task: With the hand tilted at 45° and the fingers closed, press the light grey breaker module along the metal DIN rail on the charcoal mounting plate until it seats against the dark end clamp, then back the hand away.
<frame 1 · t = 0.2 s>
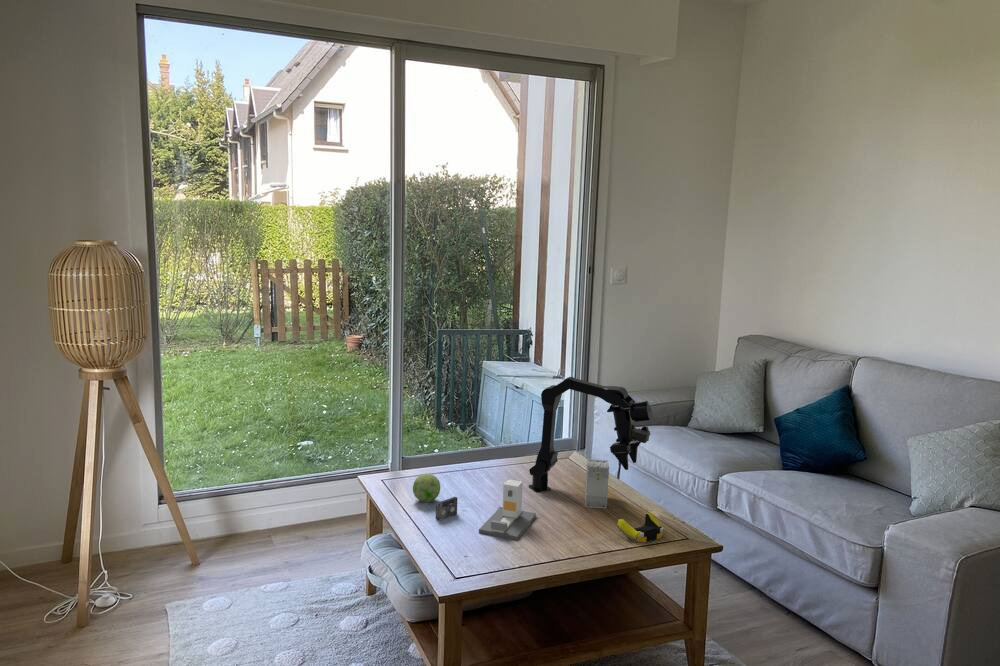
hand: (630, 466, 254), 15 cm above the table, tool pointing down, fingers open, 9 cm apart
mini dv tape: (446, 517, 243), on the table
din rail plate: (508, 524, 238), on the table
breaker module: (512, 499, 240), point 7 cm above the table, slide at 0.0 cm
gaming controller: (641, 536, 233), on the table
circuit breaker: (595, 500, 262), on the table
decorative ball: (426, 501, 256), on the table
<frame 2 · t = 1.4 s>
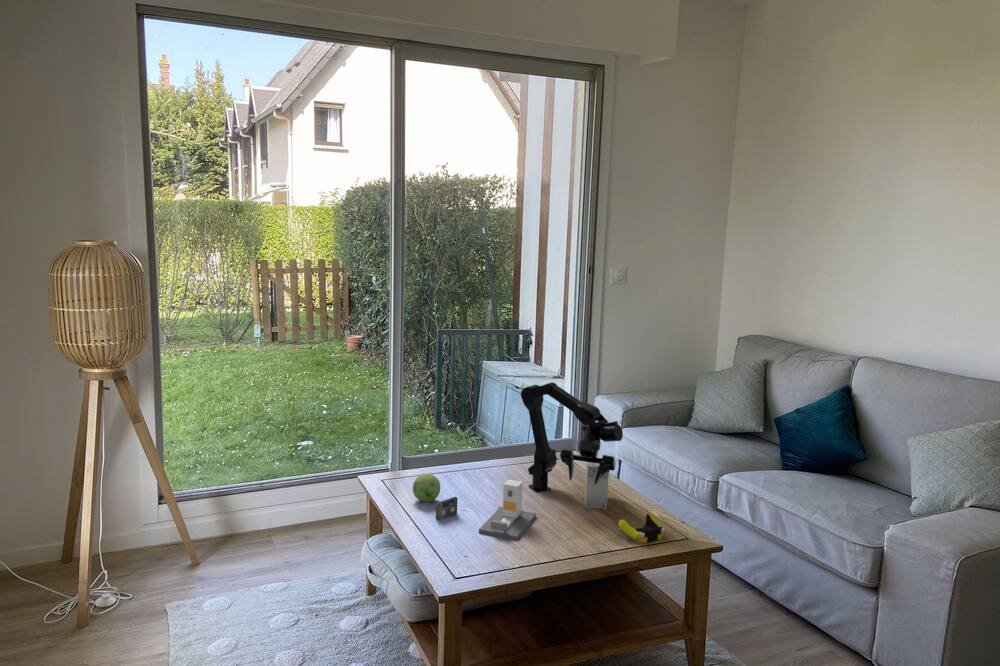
hand: (582, 481, 245), 12 cm above the table, tool tilted 45°, fingers open, 8 cm apart
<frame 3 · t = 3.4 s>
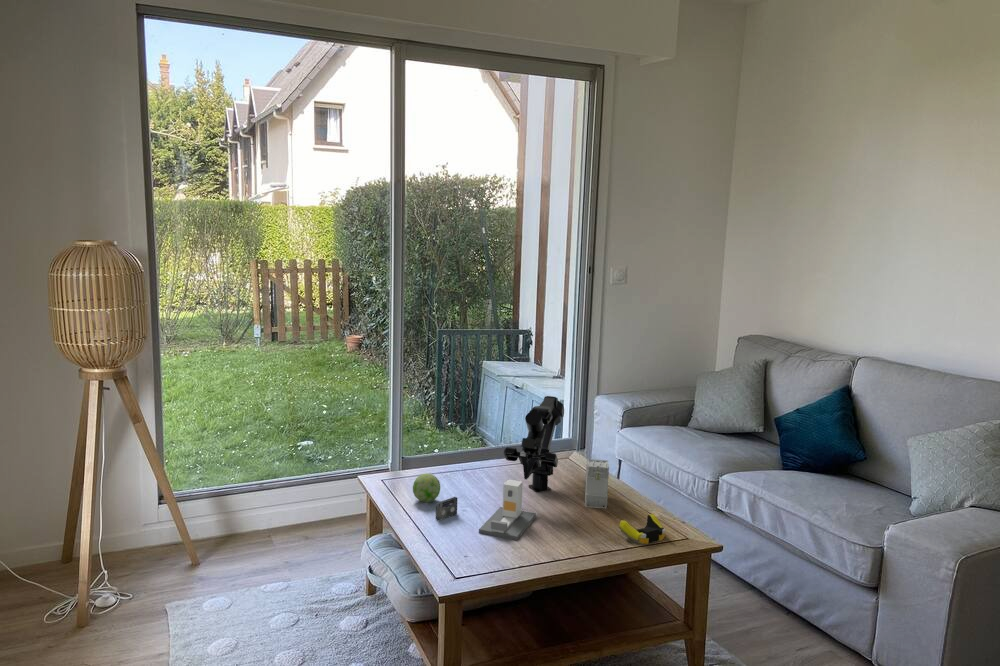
hand: (525, 478, 249), 12 cm above the table, tool tilted 45°, fingers closed
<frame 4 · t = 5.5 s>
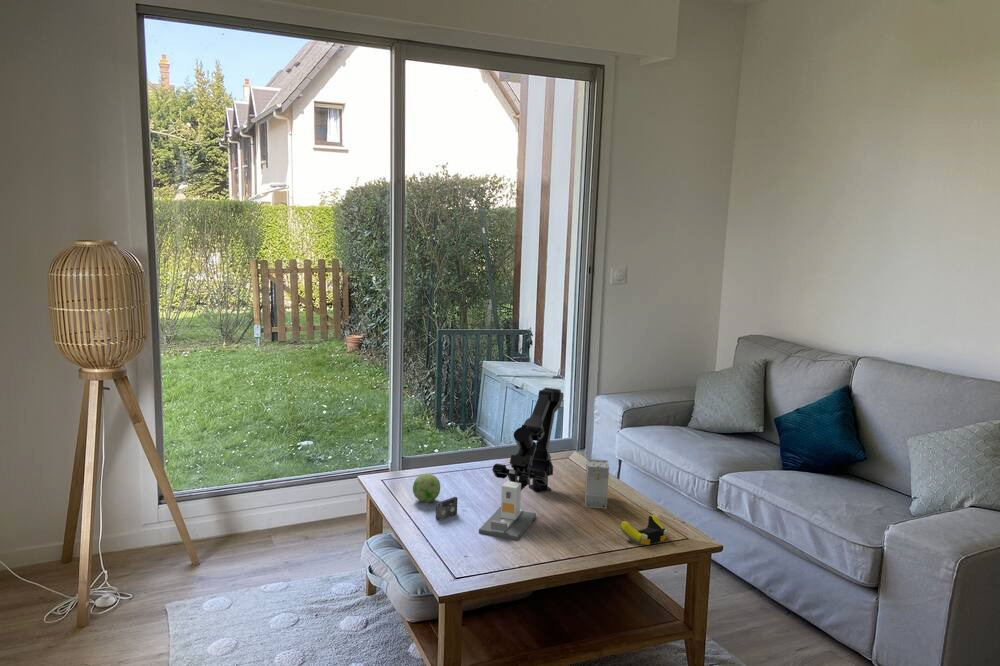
hand: (513, 497, 242), 8 cm above the table, tool tilted 45°, fingers closed, pressing on breaker module
breaker module: (510, 501, 239), point 7 cm above the table, slide at 1.6 cm, touching gripper
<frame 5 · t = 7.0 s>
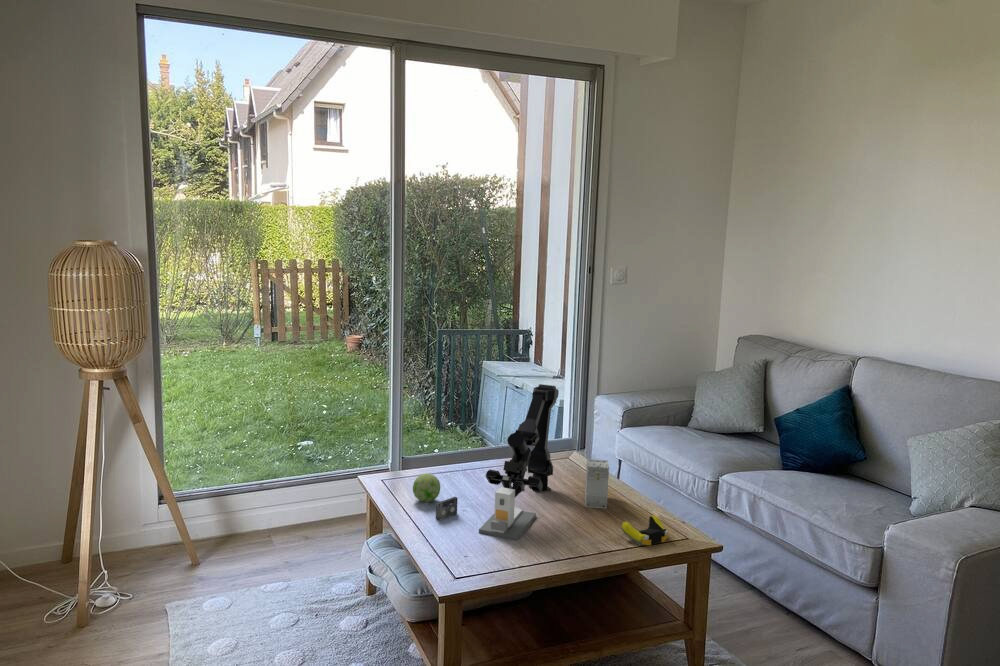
hand: (507, 504, 236), 8 cm above the table, tool tilted 45°, fingers closed, pressing on breaker module
breaker module: (504, 508, 233), point 7 cm above the table, slide at 7.8 cm, touching gripper
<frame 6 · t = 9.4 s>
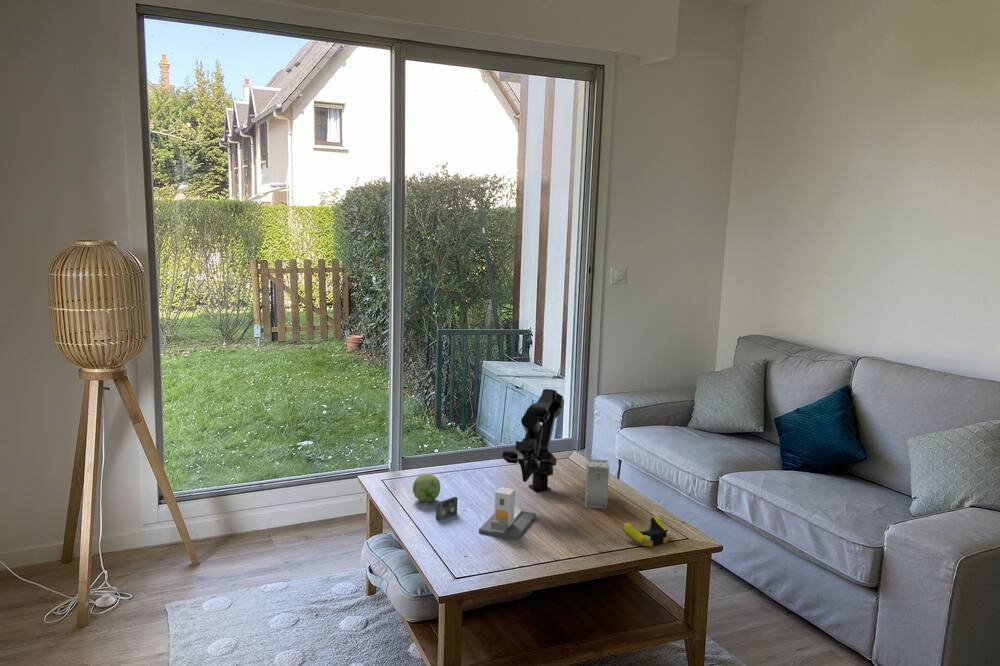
hand: (524, 481, 247), 11 cm above the table, tool tilted 40°, fingers closed
breaker module: (504, 508, 233), point 7 cm above the table, slide at 7.8 cm
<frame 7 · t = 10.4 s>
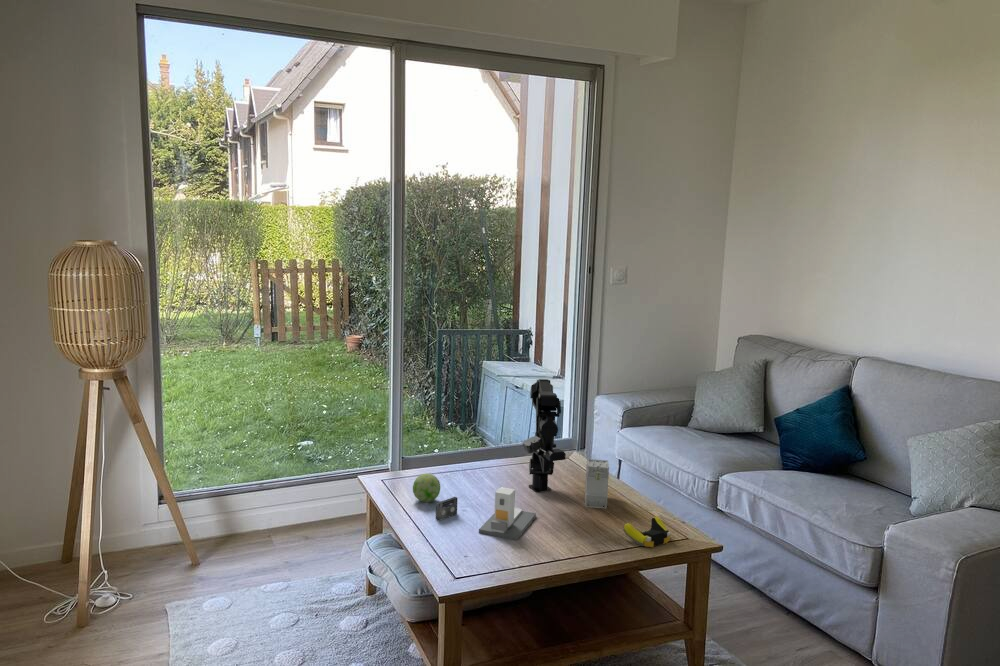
hand: (544, 472, 255), 12 cm above the table, tool pointing down, fingers closed
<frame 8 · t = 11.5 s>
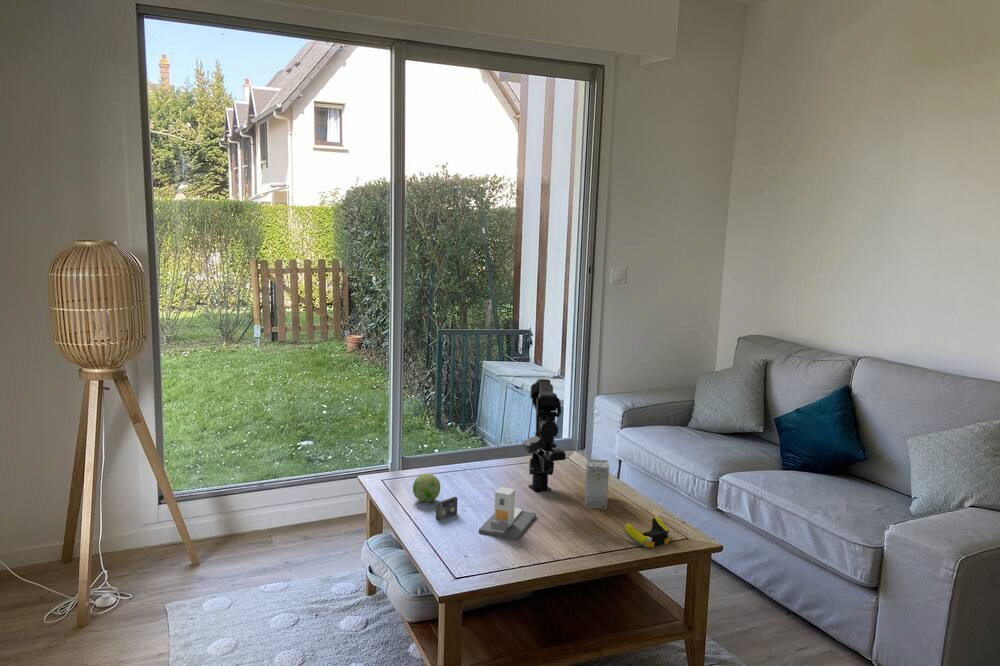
hand: (544, 472, 255), 12 cm above the table, tool pointing down, fingers closed
at the end: breaker module slide at 7.8 cm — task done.
